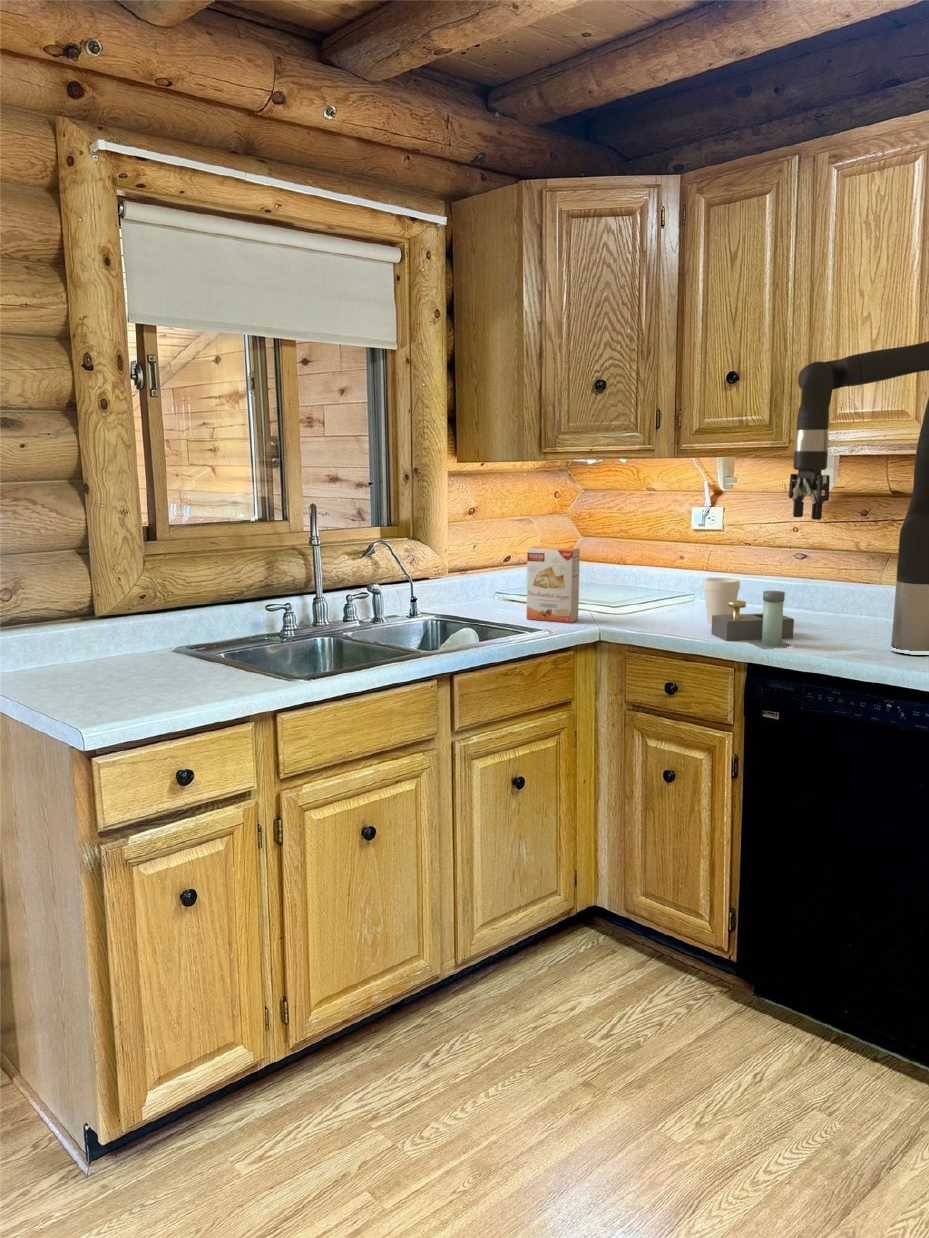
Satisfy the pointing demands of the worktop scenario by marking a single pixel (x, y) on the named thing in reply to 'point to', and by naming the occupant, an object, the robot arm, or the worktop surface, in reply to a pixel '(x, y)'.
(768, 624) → the cylinder
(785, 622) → the block
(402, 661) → the worktop surface
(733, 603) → the brass plunger
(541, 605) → the cracker box
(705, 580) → the foam cup
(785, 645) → the slate mat
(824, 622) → the worktop surface
